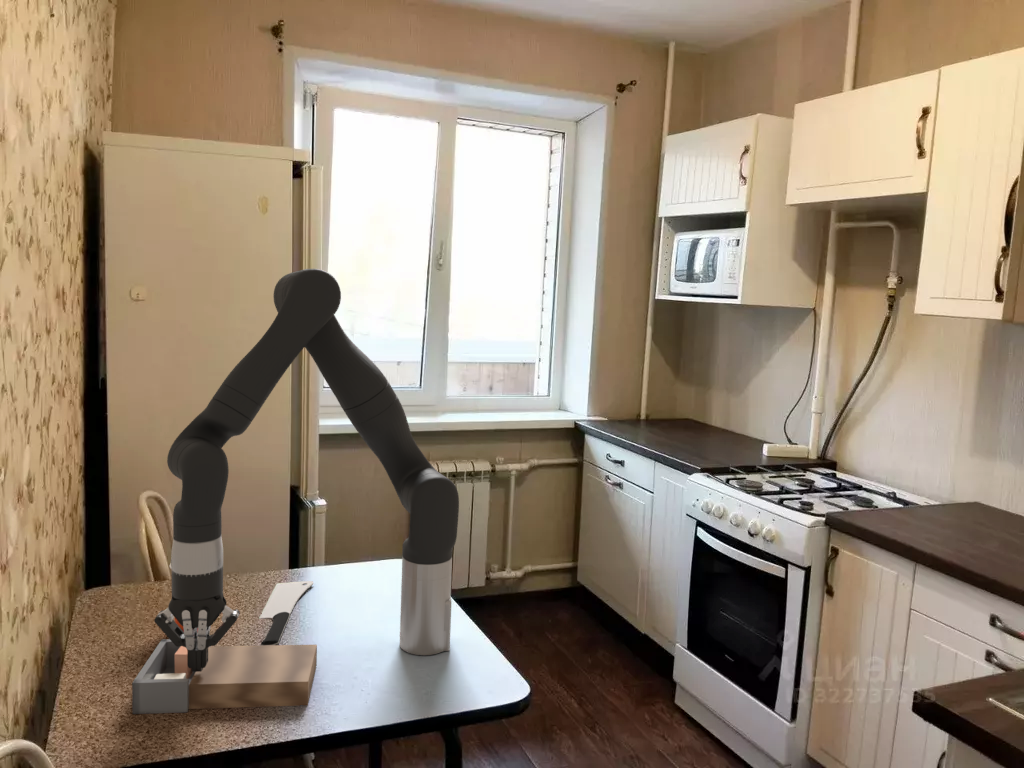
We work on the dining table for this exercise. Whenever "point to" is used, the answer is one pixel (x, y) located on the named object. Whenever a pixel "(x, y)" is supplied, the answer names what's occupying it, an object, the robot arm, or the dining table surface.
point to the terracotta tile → (182, 662)
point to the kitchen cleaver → (282, 608)
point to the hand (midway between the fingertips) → (197, 669)
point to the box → (160, 684)
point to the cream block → (171, 676)
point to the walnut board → (254, 677)
